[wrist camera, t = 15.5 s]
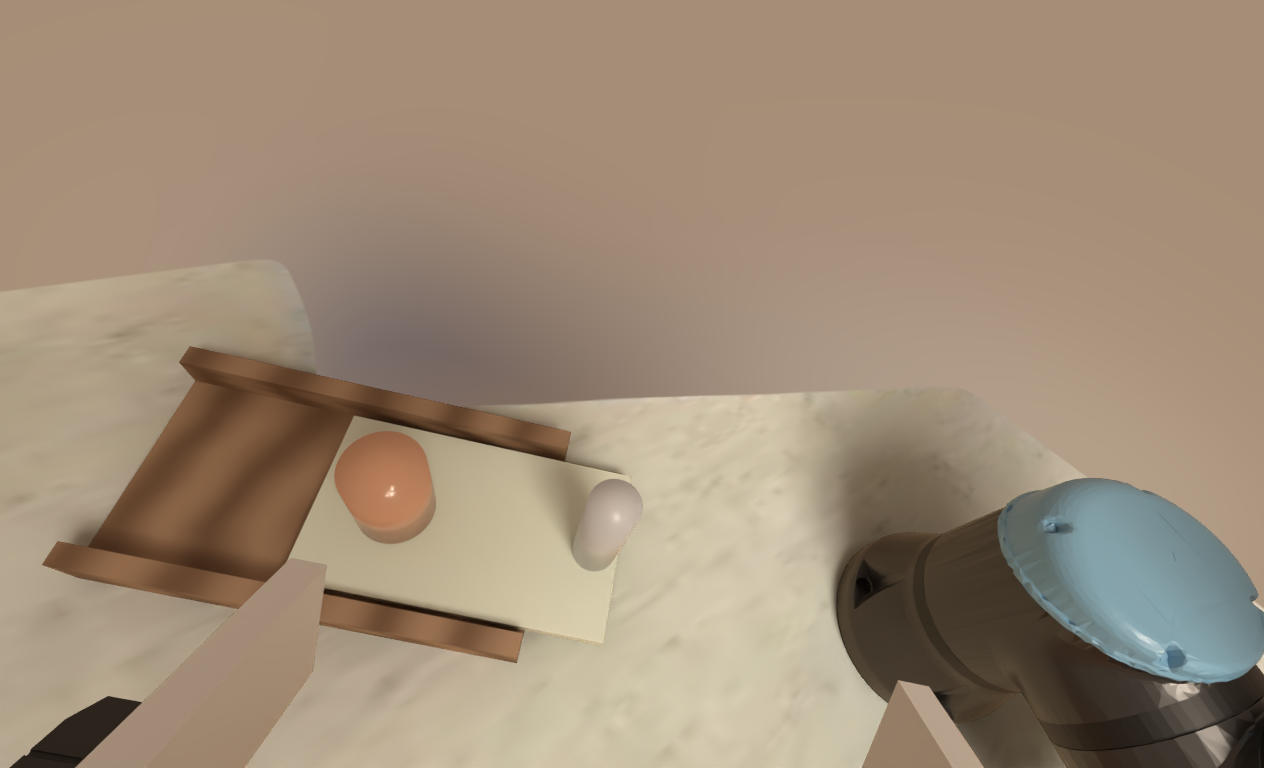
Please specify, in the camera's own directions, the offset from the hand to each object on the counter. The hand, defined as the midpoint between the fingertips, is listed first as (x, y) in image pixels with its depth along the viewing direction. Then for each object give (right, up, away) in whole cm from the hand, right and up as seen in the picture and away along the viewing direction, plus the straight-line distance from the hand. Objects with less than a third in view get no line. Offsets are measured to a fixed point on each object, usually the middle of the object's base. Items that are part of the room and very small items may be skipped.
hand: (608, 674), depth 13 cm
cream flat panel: (-12, -5, +35) cm, 37 cm away
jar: (-18, -3, +33) cm, 38 cm away
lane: (-22, -3, +35) cm, 42 cm away
